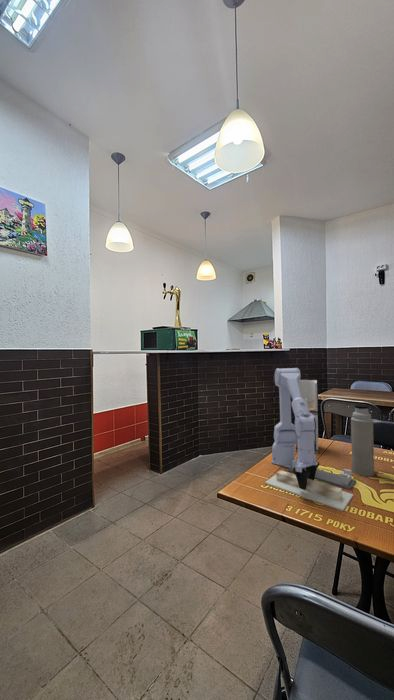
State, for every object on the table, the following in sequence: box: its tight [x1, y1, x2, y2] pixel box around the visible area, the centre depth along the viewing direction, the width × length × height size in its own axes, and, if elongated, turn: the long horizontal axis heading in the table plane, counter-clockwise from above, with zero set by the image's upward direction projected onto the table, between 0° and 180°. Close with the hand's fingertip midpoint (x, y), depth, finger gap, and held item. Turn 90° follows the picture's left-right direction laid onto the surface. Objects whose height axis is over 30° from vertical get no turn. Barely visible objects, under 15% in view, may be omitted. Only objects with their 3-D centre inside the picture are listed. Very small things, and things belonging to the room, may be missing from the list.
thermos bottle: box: [350, 404, 375, 477], centre depth 116 cm, size 8×8×28 cm
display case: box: [294, 379, 319, 455], centre depth 144 cm, size 11×11×35 cm
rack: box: [287, 456, 357, 490], centre depth 113 cm, size 24×8×4 cm, turn 47°
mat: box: [264, 474, 354, 512], centre depth 103 cm, size 28×12×1 cm, turn 47°
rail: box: [275, 469, 343, 501], centre depth 103 cm, size 23×3×3 cm, turn 47°
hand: (306, 484), depth 103 cm, fingers open, 7 cm apart
